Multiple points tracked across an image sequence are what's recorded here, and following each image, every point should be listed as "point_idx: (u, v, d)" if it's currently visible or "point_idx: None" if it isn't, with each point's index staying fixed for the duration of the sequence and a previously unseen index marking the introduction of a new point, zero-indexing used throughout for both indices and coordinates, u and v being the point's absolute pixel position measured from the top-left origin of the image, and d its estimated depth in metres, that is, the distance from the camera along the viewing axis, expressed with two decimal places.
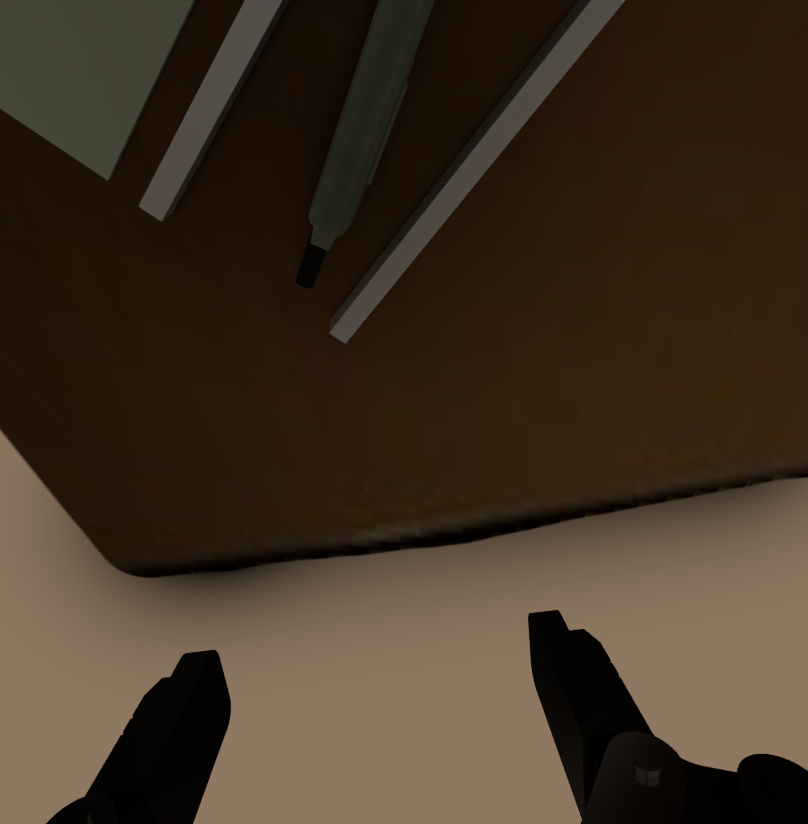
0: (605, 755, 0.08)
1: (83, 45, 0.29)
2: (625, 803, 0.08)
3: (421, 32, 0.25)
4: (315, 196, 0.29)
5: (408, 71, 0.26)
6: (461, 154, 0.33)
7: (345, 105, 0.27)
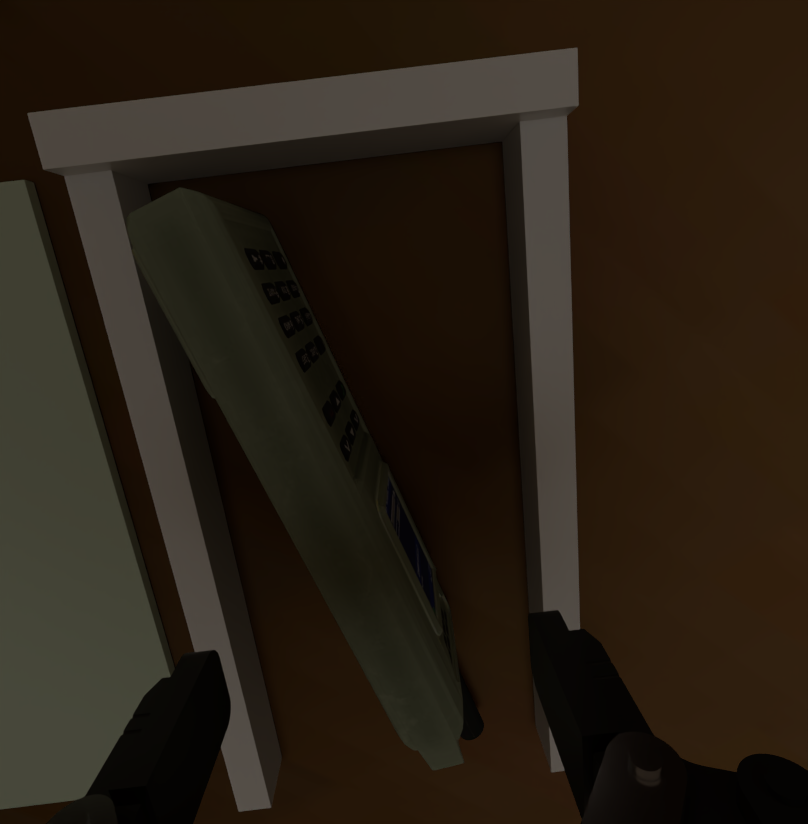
0: (605, 755, 0.08)
1: (93, 695, 0.23)
2: (625, 803, 0.08)
3: (338, 461, 0.15)
4: (390, 718, 0.18)
5: (365, 505, 0.16)
6: (524, 451, 0.21)
7: (330, 608, 0.16)
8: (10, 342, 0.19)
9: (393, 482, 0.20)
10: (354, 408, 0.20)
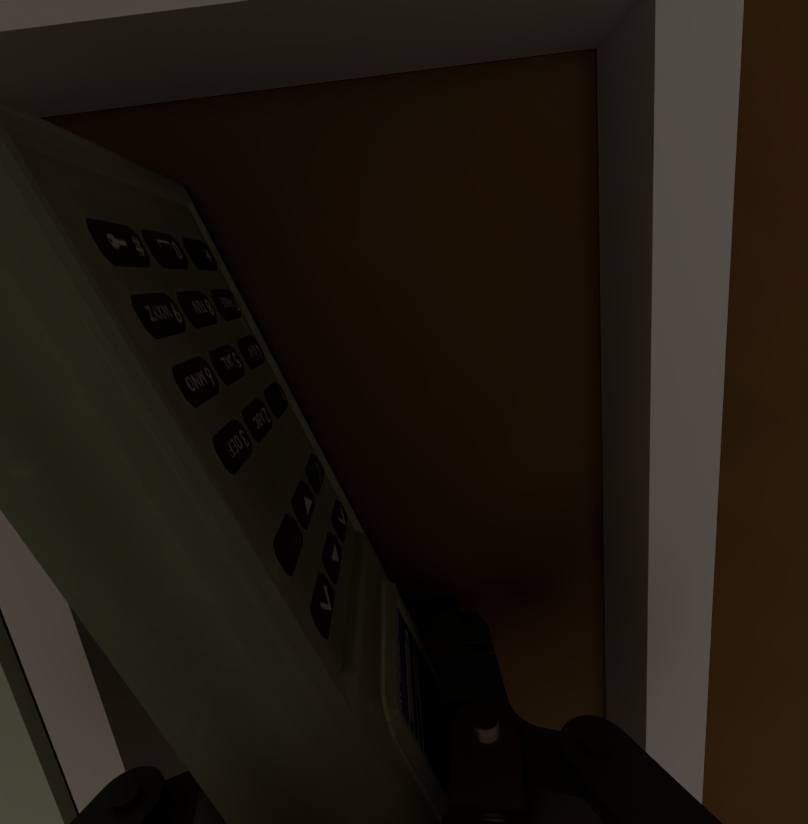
0: (453, 718, 0.09)
1: None
2: (458, 757, 0.09)
3: (307, 657, 0.07)
4: None
5: (364, 730, 0.08)
6: (614, 552, 0.13)
7: None
8: None
9: (405, 613, 0.12)
10: (338, 495, 0.12)
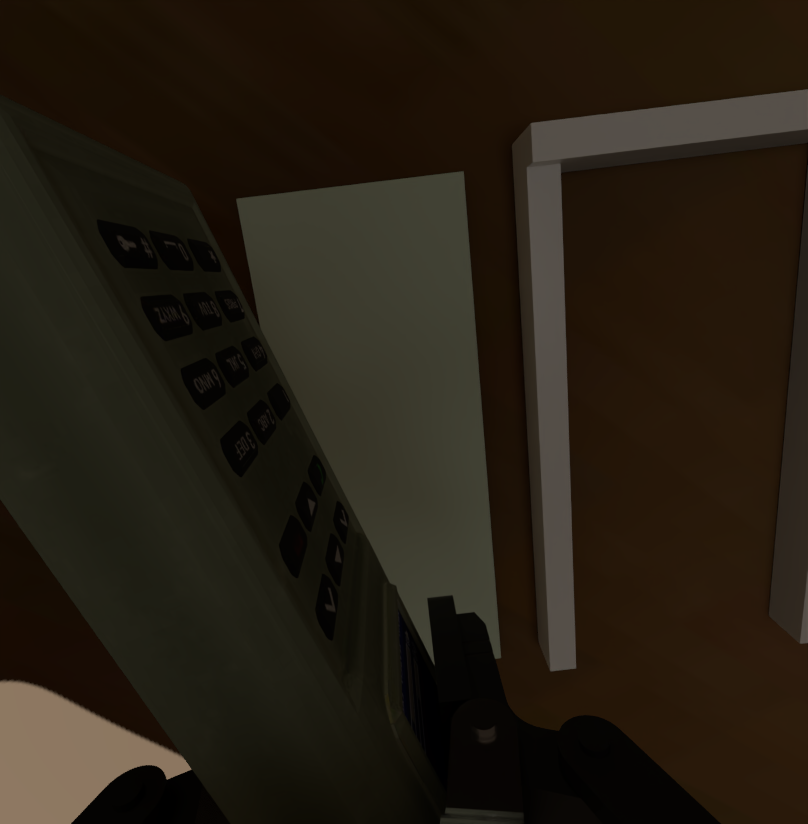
0: (451, 718, 0.09)
1: (431, 580, 0.30)
2: (456, 756, 0.09)
3: (313, 659, 0.07)
4: None
5: (368, 732, 0.08)
6: (799, 382, 0.27)
7: None
8: (428, 293, 0.25)
9: (405, 615, 0.12)
10: (340, 496, 0.12)
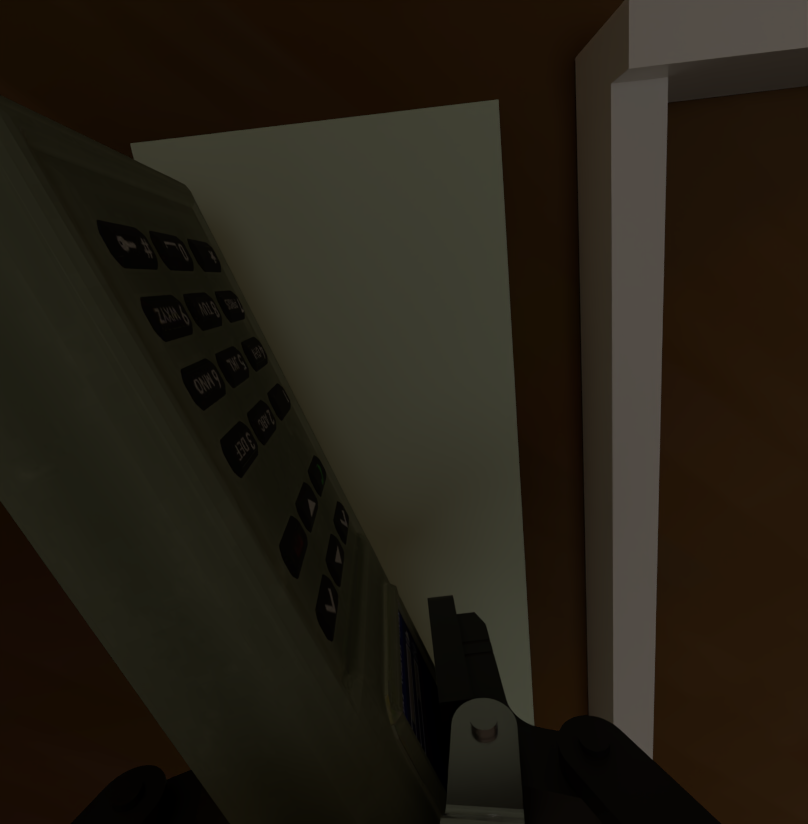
0: (452, 718, 0.09)
1: None
2: (456, 757, 0.09)
3: (314, 660, 0.07)
4: None
5: (369, 733, 0.08)
6: None
7: None
8: (440, 296, 0.16)
9: (405, 615, 0.12)
10: (340, 497, 0.12)
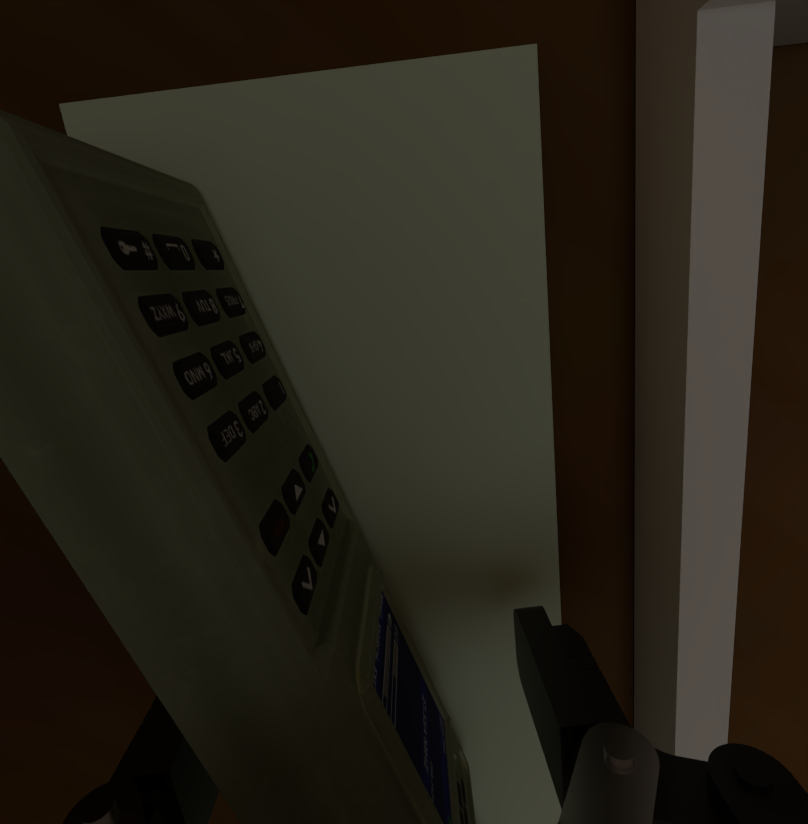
0: (581, 745, 0.09)
1: None
2: (598, 791, 0.08)
3: (284, 630, 0.08)
4: None
5: (335, 699, 0.09)
6: None
7: None
8: (459, 300, 0.13)
9: (389, 598, 0.13)
10: (332, 484, 0.13)
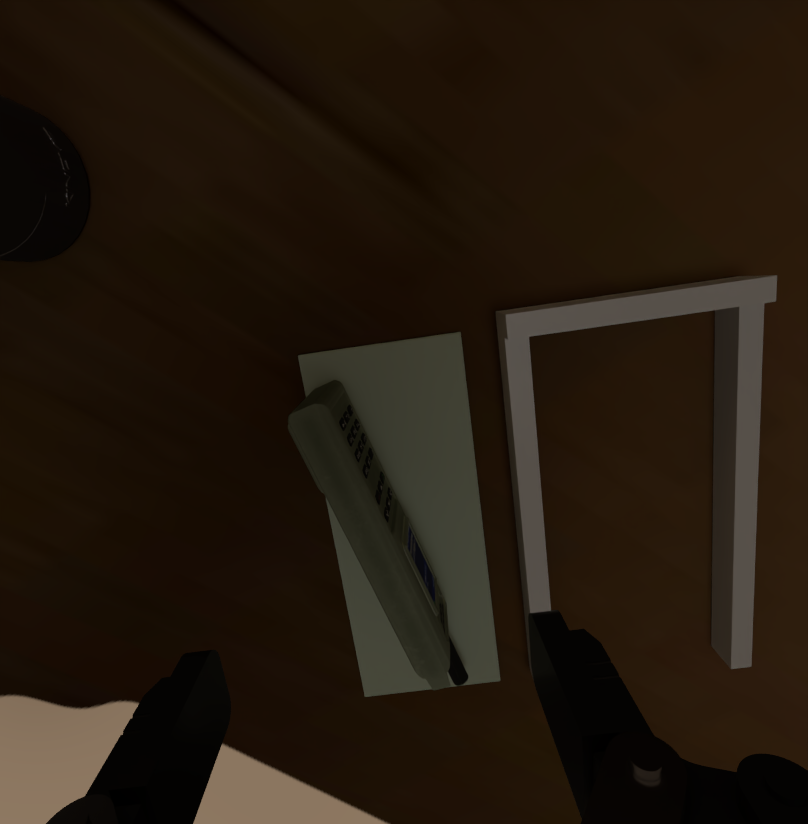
0: (605, 755, 0.08)
1: None
2: (625, 803, 0.08)
3: (384, 523, 0.30)
4: (410, 660, 0.32)
5: (397, 545, 0.31)
6: (719, 472, 0.36)
7: (378, 599, 0.31)
8: (437, 416, 0.35)
9: (411, 528, 0.35)
10: (389, 485, 0.35)
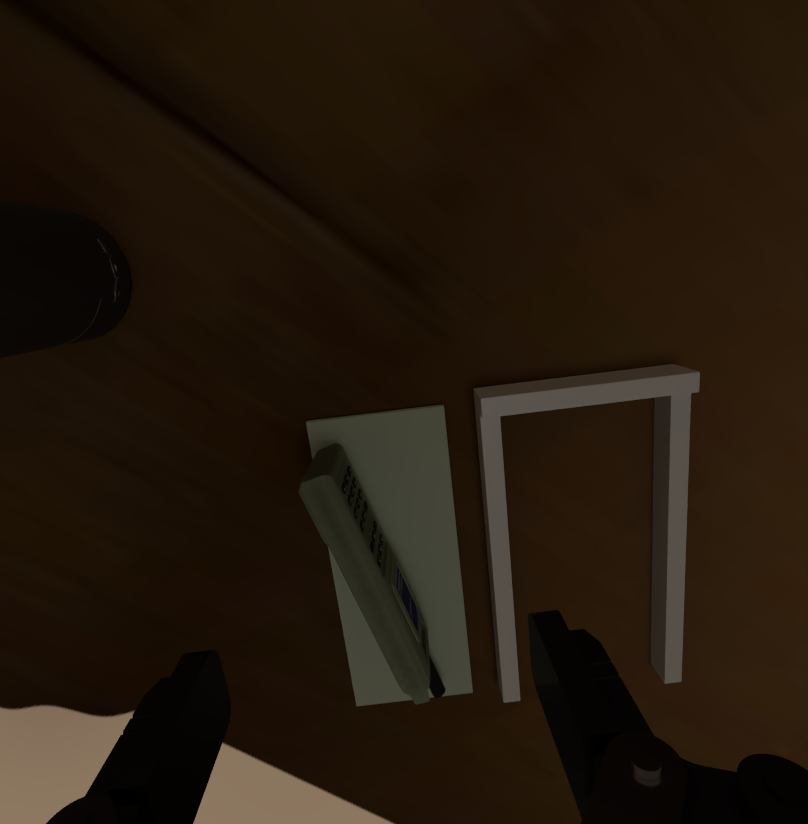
0: (605, 755, 0.08)
1: None
2: (625, 803, 0.08)
3: (377, 570, 0.36)
4: (396, 680, 0.39)
5: (387, 587, 0.37)
6: (656, 521, 0.43)
7: (371, 630, 0.38)
8: (422, 473, 0.41)
9: (399, 567, 0.41)
10: (380, 531, 0.41)
